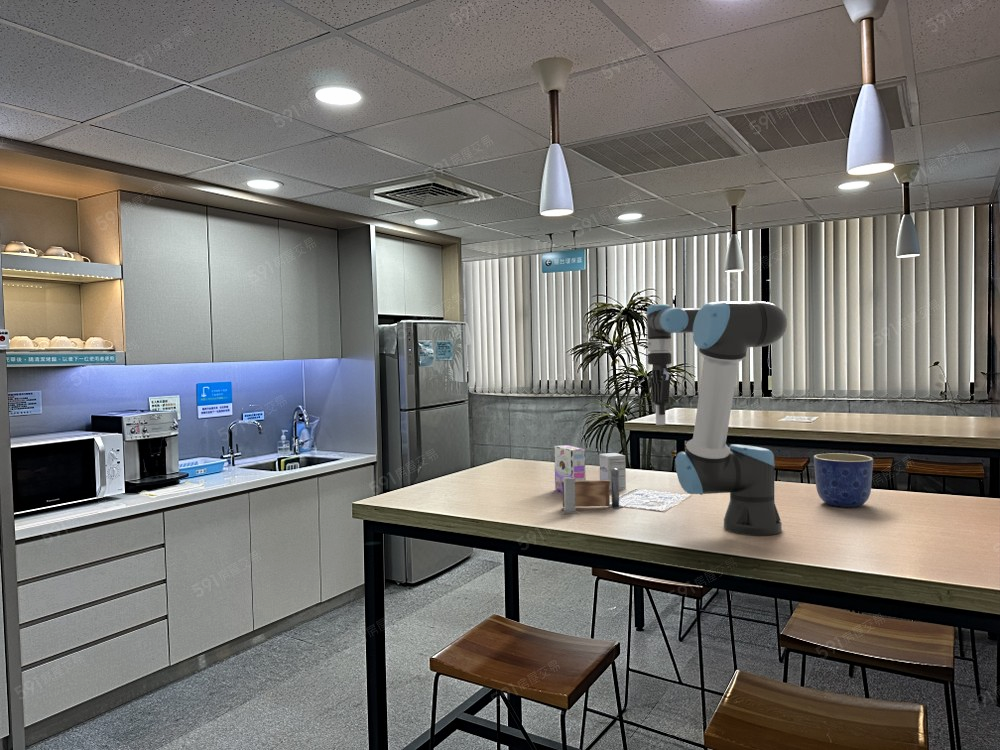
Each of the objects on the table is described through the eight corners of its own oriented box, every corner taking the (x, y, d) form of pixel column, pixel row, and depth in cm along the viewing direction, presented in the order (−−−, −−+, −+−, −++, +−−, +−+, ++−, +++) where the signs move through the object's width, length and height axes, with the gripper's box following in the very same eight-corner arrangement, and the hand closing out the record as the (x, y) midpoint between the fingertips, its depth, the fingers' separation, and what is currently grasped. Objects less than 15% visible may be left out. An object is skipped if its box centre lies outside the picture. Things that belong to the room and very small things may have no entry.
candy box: (586, 495, 239) (585, 448, 239) (571, 496, 237) (571, 449, 237) (568, 488, 252) (567, 444, 252) (554, 489, 250) (553, 445, 250)
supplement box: (599, 487, 253) (598, 453, 252) (617, 485, 255) (616, 452, 255) (608, 490, 246) (607, 456, 245) (626, 489, 248) (626, 455, 248)
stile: (578, 513, 212) (577, 478, 212) (564, 513, 212) (564, 479, 211) (575, 510, 216) (574, 476, 215) (561, 511, 215) (561, 477, 215)
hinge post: (622, 508, 218) (622, 469, 217) (611, 508, 217) (611, 469, 217) (619, 505, 221) (618, 467, 221) (608, 506, 221) (607, 467, 220)
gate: (609, 505, 220) (609, 480, 220) (610, 506, 219) (609, 481, 218) (562, 505, 220) (561, 480, 220) (562, 507, 219) (562, 481, 219)
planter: (859, 513, 204) (859, 463, 204) (804, 504, 218) (803, 457, 217) (882, 504, 215) (882, 456, 215) (828, 496, 228) (828, 451, 228)
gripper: (641, 352, 226) (642, 423, 227) (656, 352, 213) (657, 426, 214) (662, 352, 227) (663, 422, 228) (678, 351, 215) (679, 426, 215)
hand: (660, 424), depth 221 cm, fingers closed
